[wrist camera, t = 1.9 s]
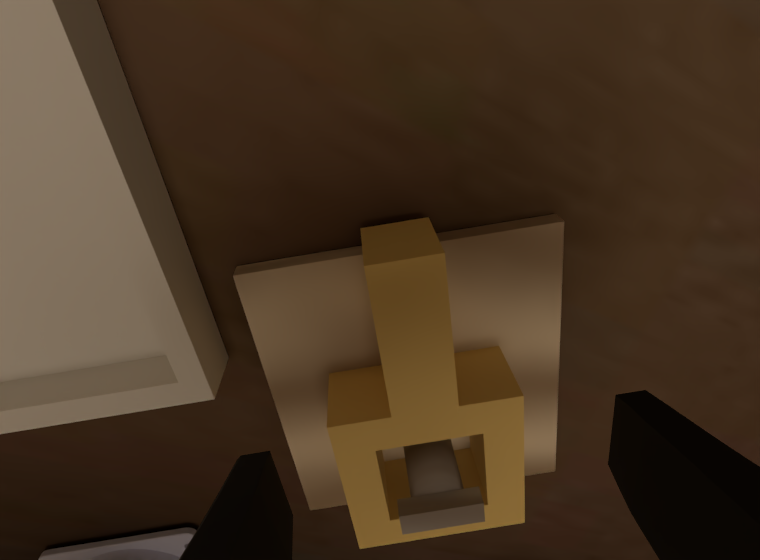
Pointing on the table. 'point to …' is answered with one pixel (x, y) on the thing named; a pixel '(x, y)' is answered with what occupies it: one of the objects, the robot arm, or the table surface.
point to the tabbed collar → (422, 394)
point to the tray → (88, 236)
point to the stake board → (360, 350)
